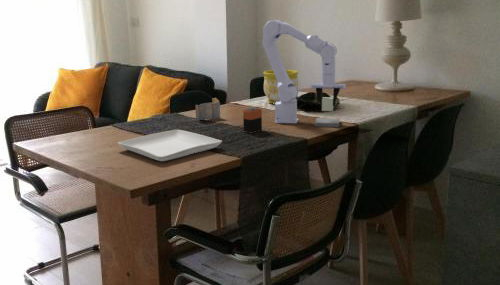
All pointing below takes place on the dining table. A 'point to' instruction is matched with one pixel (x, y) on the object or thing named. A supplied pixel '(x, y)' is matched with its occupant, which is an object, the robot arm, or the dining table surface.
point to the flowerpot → (276, 84)
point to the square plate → (170, 144)
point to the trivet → (327, 122)
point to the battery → (252, 119)
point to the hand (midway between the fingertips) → (327, 105)
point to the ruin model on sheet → (208, 110)
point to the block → (327, 104)
